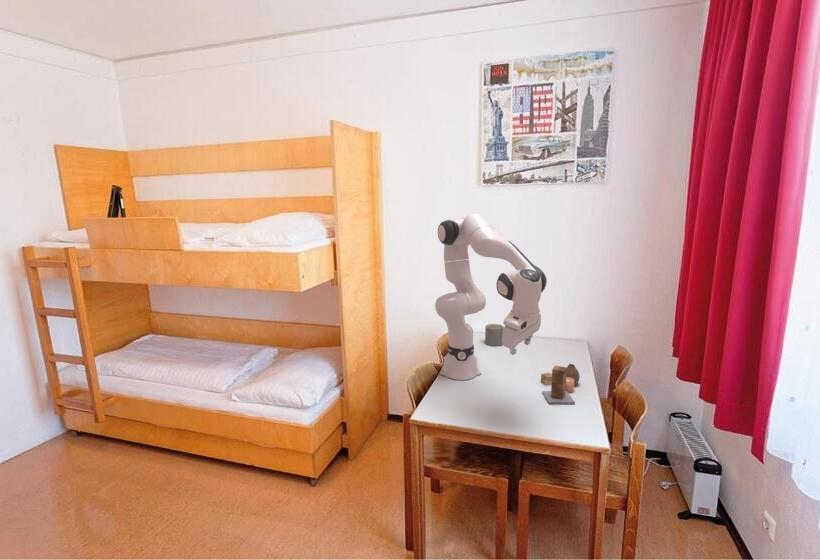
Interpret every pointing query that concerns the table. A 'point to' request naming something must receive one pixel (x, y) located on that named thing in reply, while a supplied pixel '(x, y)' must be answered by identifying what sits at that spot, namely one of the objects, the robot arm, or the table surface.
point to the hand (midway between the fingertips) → (520, 348)
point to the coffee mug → (493, 335)
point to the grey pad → (553, 401)
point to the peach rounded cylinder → (569, 385)
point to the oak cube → (546, 378)
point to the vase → (573, 373)
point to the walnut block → (558, 382)
